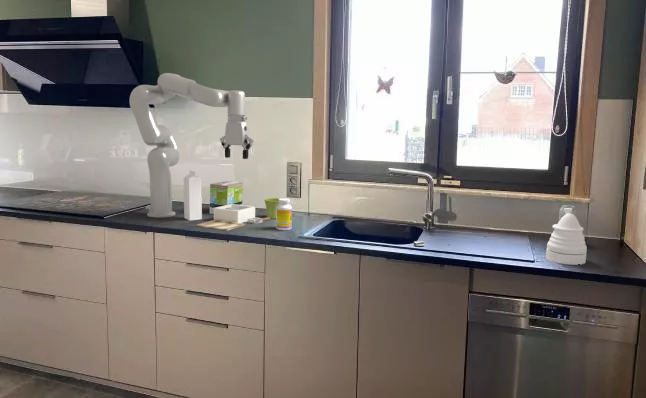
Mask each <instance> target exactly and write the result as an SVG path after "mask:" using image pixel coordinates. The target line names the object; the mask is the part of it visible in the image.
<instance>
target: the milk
mask: <svg viewBox="0 0 646 398" xmlns="http://www.w3.org/2000/svg"><path fill="white" fill-rule="evenodd" d="M202 190H203V189H202V177H199V176H198V175H197V174H196V171H194V170H189V174H186V176H184V177H183V211H184V212H183V213H184V214H183V216H184V219H185V220H188V221H196V220H202V219H203V211H202V210H203V209H202V208H203V206H202V204H203V203H202V202H203V201H202V200H203V199H202V198H203V195H202Z"/></svg>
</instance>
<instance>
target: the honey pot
mask: <svg viewBox="0 0 646 398" xmlns="http://www.w3.org/2000/svg"><path fill="white" fill-rule="evenodd" d="M564 211H565V213H566V215H564V216H563V217H562V218H561V219H560V221H559V220H558V223H555V224H552V229H553V232H552V233H551V235H550V237H549V240H548V241H547V244H546V251H545V253H546V254H545V259H546V260H547V261H551V262H552V263H558V264H562V265H570V266H571V265H572V266H575V265H577V266H579V265H578V264H580V265H584V264H586V260H587V251H588V249H587V248H588V247H587V244H586V241H585V238H586V237H585V236H584V233H583V231H584V227H583V226H581V224H580V222H579V219H578V218H577V216H576V217H575V216H574V215H573V214H571V212H572V209H571V208H564Z"/></svg>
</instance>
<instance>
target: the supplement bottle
mask: <svg viewBox="0 0 646 398" xmlns="http://www.w3.org/2000/svg"><path fill="white" fill-rule="evenodd" d="M290 202H291V200H290V198H280V199H279V205H277V207H276V218H275V229H276V230H277V231H290V230H292V227H293V226H292V223H293V222H292V221H293V220H292V219H293V207H292V205H291V204H290Z"/></svg>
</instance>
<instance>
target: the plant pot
mask: <svg viewBox="0 0 646 398" xmlns="http://www.w3.org/2000/svg"><path fill="white" fill-rule="evenodd" d="M279 199H281V198H278V197H277V198H276V197H267V198H263V200H264V204H265V210H266V216H267V217H270V220H272V219H273V220H274V219H275V220H276V207H277V205H279ZM267 217H266V218H267Z"/></svg>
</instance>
